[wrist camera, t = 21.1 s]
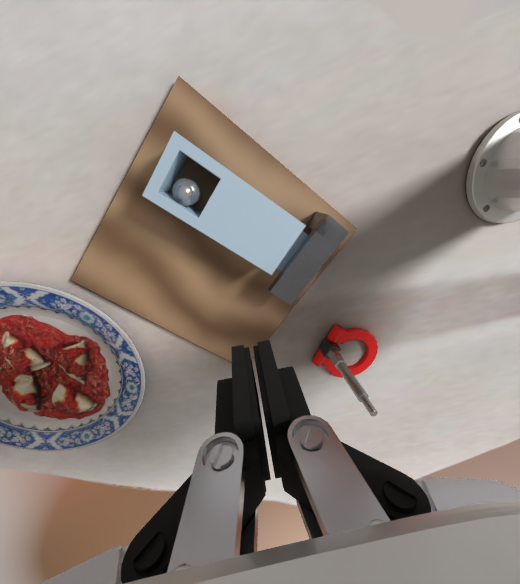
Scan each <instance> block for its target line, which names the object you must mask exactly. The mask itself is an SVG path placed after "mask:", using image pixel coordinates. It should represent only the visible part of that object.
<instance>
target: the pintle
mask: <svg viewBox="0 0 520 584" xmlns="http://www.w3.org/2000/svg"><path fill="white" fill-rule="evenodd" d="M172 193H173V197H174V198H175V200H176V201H177V202H178V203H179V204H181V205H184V206H190V205H193V204H195V203H197V202H198V201H199V200H200V199H201V197H202V188H201V186H200V185H199V184H198V183H197V182H196V181H194V180H191V179H186V178H182V179H179V180H177V181H176V182H175V183H174V185H173V188H172Z"/></svg>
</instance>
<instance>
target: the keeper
mask: <svg viewBox="0 0 520 584" xmlns="http://www.w3.org/2000/svg"><path fill="white" fill-rule="evenodd" d="M306 227H307V228H308V229H309V230H311V232H310V234H309V235H308V236H307V238H306V239H305V240H304V242H303V243H302V244H301V246H300V247H299V248H298V250H297V251H296V252H295V253H294V255H293V256H292V257H291V259H290V260H289V261H288V263H287V264H286V265H285V267H284V268H283V269H282V271H281V272H280V273H279V274H278V276H277V277H276V278H275V280H274V281H273V282H272V284H271V285H270V286H269V291H270V292H271V293H273V294H274V295H276V296H277V297H279V298H280V299H282V300H283V301H285V302H286V303H288V304H289V305H291V304H292V303H293V302H294V301H295V300H296V298H297V297H298V296H299V295H300V293H301V292H302V291H303V290H304V288H305V287H306V286H307V285H308V283H309V282H310V281H311V280H312V278H313V277H314V276H315V275H316V273H317V272H318V271H319V270H320V268H321V267H322V266H323V265H324V263H325V262H326V261H327V260H328V258H329V257H330V256H331V255H332V253H333V252H334V251H335V250H336V248H337V247H338V246H339V245H340V243H341V242H342V241H343V240H344V238H345V237H346V236H347V235H348V233H349V231H348V230H346V229H345V228H344V227H343V226H342V225H340V224H339V223H338V222H337V221H336V220H335V219H333V218H332V217H331V216H330V215H328V214H324V213H320V212H315V213H314V214H313V216H312V217H311V218H310V220H309V221H308V222H307V224H306Z"/></svg>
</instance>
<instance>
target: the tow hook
mask: <svg viewBox="0 0 520 584" xmlns="http://www.w3.org/2000/svg"><path fill="white" fill-rule="evenodd" d="M353 339H358V340H362V341H364V342H365V344H366V352H365V355H364V357H363V358H362V359H361V360H360V361H359V362H358V363H356V364H355V365H352V366H349V367H348V366H347V365H346V364H347V363H346V362H345V360H344V359H343V358H342V356H341V355H340V354H339V351H340V350H341V348H340V347H339V346H338V344H337V343H340V344H343V343H345V342H347V341H349V340H353ZM336 342H337V343H336ZM377 349H378V345H377V341H376V340H375V338H374V336H373V335H372V334H370V333H369V332H368V331H366V330H363V329H358V328H353V329H348V330H344V329H343V328H341V327H340V326H338V325H334V327H333V328H332V330H331V332H330V333H329V335H328V336H327V337H326V338H325V340H324V341H323V343H322V344H321V346H320V348H319V350H318V352H317V354H316V355H315V357H314V358H313V360H312V362H313V363H314V364H315V365H317V366H320V365H324V366H325V367H326V369H327V370H328V371H329V372H330V373H331V374H333V375H335V376H338V377H344V379H345V380H346V382H347V383H348V385H349V386H350V388H351V390H352V391H353V393H354V394H355V396H356V397H357V399H358V400H359V401H360V402H362V403H363V404H364V406H365V407H366V409H367V410H368V412H369V413H370V415H371V416H375V415H377V413H378V412H377V410H376V409H375V408H374V406H373V405H372V403H371V402H370V400H369V399H368V394H367V393H366V392H365V390H364V389H363V387H362V386H361V385H360V383H359V382H358V380H357V379H356V378H355V376H354V375H357V374H359V373H361V372H362V371H364V370H365V369H367V368H368V367H369V366H370V365H371V364H372V362H373V361H374V359H375V357H376V354H377Z"/></svg>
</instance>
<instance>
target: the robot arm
mask: <svg viewBox="0 0 520 584" xmlns="http://www.w3.org/2000/svg"><path fill="white" fill-rule="evenodd" d="M466 193H467V198H468V202H469V204H470V206H471V208H472V210H473V211H474V212H475V214H476V215H478V216H479V217H480V218H482V219H484V220H486V221H489V222H495V223H510V222H515V221H518V220H520V111H518V112H516V113H514V114H511V115H510V116H508V117H506V118H505V119H503V120H502V121H500V122H499V123H498V124H497V125H496V126H495V127H494V128H493V129H492V130H491V131H490V132H489V133H488V134H487V135H486V137H485V138H484V139H483V141H482V142H481V144H480V145H479V147H478V148H477V150H476V152H475V154H474V156H473V158H472V161H471V164H470V167H469V170H468V175H467V181H466ZM231 350H232V378H229V379H224V380H218V383H217V400H216V421H215V435H213V436H211V437H210V438H209V439H207V440H206V441H205V442H204V444H203V445H202V446H201V447H200V450H199V452H198V455H197V459H196V462H195V466H194V470H193V474H192V475H191V476H190V477H189V478H188V479H187V480H186V481H185V482H184V483H183V485H182V486H181V487H180V488H179V489H178V490H177V491H176V492H175V493H174V494H173V496H172V497H171V498H170V499H169V500H168V501H167V502H166V503H165V504H164V505H163V506H162V508H161V509H160V510H159V511H158V512H157V513H156V514H155V515H154V516H153V518H151V520H150V521H149V522H148V523H147V524H146V525H145V526H144V527H143V528H142V529H141V531H140V532H139V533H138V534H137V535H136V536H135V538H134V539H133V541H132V542H131V543H130V544H129V545H127V546H125V547H123V548H122V547H121V546H120V545H118V546H116V547H114V548H112V549H110V550H108V551H106V552H104V553H102V554H100V555H98V556H96V557H94V558H92V559H89V560H88V561H85V562H83V563H81V564H79V565H77V566H75V567H73V568H71V569H69V570H67V571H65V572H63V573H61V574H59V575H57V576H55V577H53V578H51V579H49V580H47V581H45V582H43V583H41V584H520V491H519V490H518V489H516V488H515V487H513V486H511V485H509V484H506V483H504V482H501V481H496V480H489V479H462V478H437V477H423V479H422V481H418V480H413V479H412V478H410V477H409V476H407V475H405V474H404V473H402V472H400V471H398V470H396V469H394V468H392V467H390V466H388V465H386V464H384V463H382V462H380V461H378V460H376V459H374V458H372V457H370V456H368V455H366V454H364V453H362V452H360V451H358V450H356V449H354V448H352V447H350V446H348V445H347V444H345V443H343V442H341V441H340V440H339V439H338V437H337V435H336V434H335V432H334V431H333V429H332V427H331V426H330V425H329V424H328V423H327V422H326V421H325V420H323V419H322V418H320V417H317V416H312V415H311V414H310V412H309V409H308V406H307V403H306V401H305V398H304V395H303V393H302V390H301V387H300V385H299V382H298V379H297V377H296V374H295V371H294V369H293V367H286V368H281V369H277V366H276V362H275V359H274V355H273V352H272V348H271V345H270V341H269V340H266V341H260V342H257V346H253V350H254V356H255V362H256V368H257V374H258V380H259V386H260V392H261V398H262V404H263V410H264V416H265V422H266V428H267V433H268V439H269V445H270V450H271V456H272V462H273V467H274V473H275V478H280V477H281V478H282V483H283V488H284V491H285V492H287V493H288V494H290V495H291V496H292V497H294V498H295V499H296V501H297V506H298V508H299V511H300V514H301V517H302V519H303V522H304V525H305V527H306V530H307V533H308V535H309V540H305V541H301V542H296V543H292V544H288V545H283V546H279V547H275V548H271V549H266V550H262V551H258V552H257V536H258V506H259V504H260V503H261V501H262V499H263V498H264V496H265V492H266V486H265V481H266V480H271V479H270V472H269V465H268V459H267V452H266V445H265V439H264V432H263V425H262V419H261V412H260V406H259V399H258V393H257V388H256V382H255V377H254V371H253V366H252V360H251V355H250V349H249V347H246V348H244V345H238V346H233V347H231Z"/></svg>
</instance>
